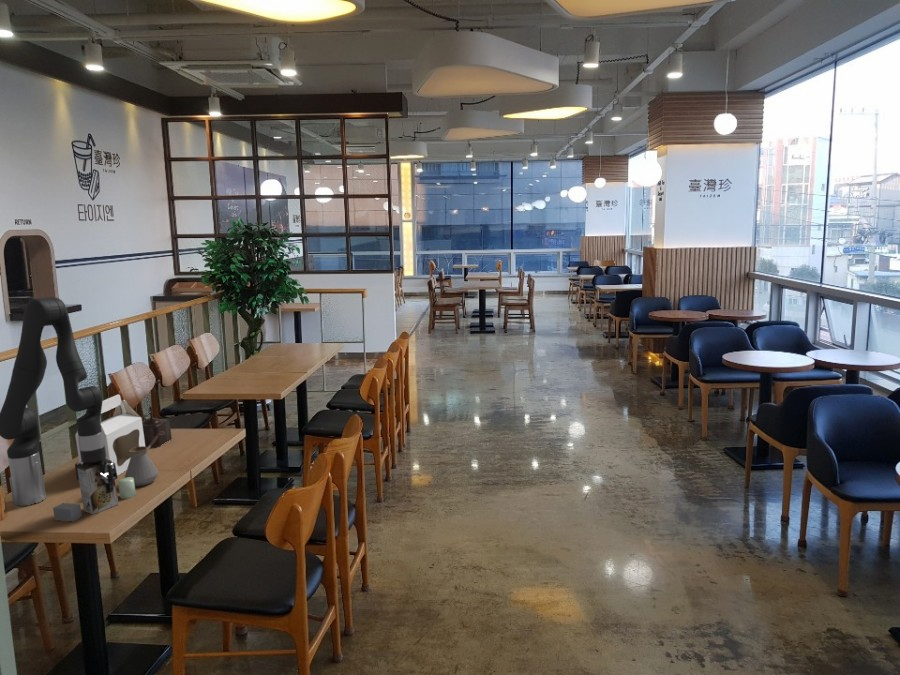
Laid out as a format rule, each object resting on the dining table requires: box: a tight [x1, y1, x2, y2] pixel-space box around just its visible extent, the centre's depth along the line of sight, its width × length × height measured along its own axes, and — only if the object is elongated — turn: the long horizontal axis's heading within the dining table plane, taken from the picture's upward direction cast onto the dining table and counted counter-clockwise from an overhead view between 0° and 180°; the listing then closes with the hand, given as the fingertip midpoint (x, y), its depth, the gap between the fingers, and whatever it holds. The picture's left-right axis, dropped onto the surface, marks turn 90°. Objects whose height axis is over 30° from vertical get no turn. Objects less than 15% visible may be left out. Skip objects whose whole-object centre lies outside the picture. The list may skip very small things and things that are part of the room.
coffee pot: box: [124, 431, 165, 487], centre depth 258 cm, size 21×12×15 cm, turn 170°
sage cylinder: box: [117, 477, 137, 500], centre depth 242 cm, size 5×5×6 cm
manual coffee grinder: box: [133, 406, 173, 448], centre depth 295 cm, size 16×11×18 cm
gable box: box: [74, 394, 145, 477], centre depth 268 cm, size 22×13×28 cm, turn 170°
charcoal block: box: [52, 502, 83, 523], centre depth 226 cm, size 7×4×4 cm, turn 74°
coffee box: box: [77, 459, 119, 515], centre depth 232 cm, size 9×6×16 cm
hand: (99, 491), depth 232 cm, fingers closed on coffee box, 8 cm apart
